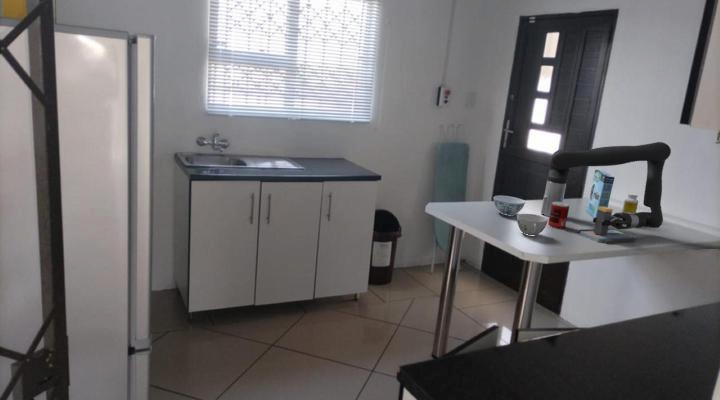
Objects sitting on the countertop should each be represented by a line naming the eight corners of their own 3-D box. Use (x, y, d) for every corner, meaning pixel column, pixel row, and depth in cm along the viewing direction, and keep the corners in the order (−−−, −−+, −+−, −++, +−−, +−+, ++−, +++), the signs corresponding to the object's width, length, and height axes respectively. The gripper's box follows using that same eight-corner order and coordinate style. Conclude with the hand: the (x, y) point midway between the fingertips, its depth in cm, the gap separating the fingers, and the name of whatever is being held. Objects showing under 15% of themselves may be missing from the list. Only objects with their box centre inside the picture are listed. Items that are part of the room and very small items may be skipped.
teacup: (512, 228, 231) (515, 211, 229) (541, 232, 230) (544, 215, 228) (517, 238, 217) (520, 220, 215) (548, 242, 215) (551, 224, 213)
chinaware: (485, 212, 256) (487, 197, 254) (502, 209, 266) (504, 194, 264) (511, 220, 246) (514, 204, 244) (528, 216, 256) (531, 201, 254)
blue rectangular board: (614, 232, 242) (614, 229, 241) (632, 239, 233) (633, 236, 232) (579, 234, 232) (580, 231, 232) (597, 241, 224) (598, 238, 223)
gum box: (585, 210, 282) (594, 169, 277) (595, 212, 282) (604, 170, 276) (594, 219, 264) (604, 175, 258) (605, 221, 263) (615, 177, 258)
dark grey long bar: (632, 241, 231) (633, 238, 230) (635, 242, 230) (635, 239, 229) (603, 242, 223) (604, 239, 223) (606, 243, 222) (606, 240, 222)
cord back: (606, 231, 243) (607, 228, 243) (608, 232, 242) (609, 229, 242) (578, 232, 236) (578, 229, 235) (580, 233, 234) (581, 230, 234)
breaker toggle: (599, 231, 233) (605, 206, 230) (607, 234, 229) (612, 209, 226) (592, 232, 231) (598, 206, 228) (600, 235, 228) (606, 209, 225)
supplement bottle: (636, 220, 273) (641, 196, 269) (622, 218, 274) (628, 194, 271) (632, 216, 279) (637, 193, 276) (619, 215, 280) (624, 192, 277)
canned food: (564, 225, 246) (569, 203, 243) (565, 229, 238) (570, 206, 236) (547, 222, 248) (552, 200, 245) (547, 226, 241) (552, 203, 238)
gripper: (613, 208, 240) (586, 209, 233) (640, 217, 228) (613, 218, 221) (610, 223, 242) (583, 225, 235) (637, 233, 230) (609, 234, 222)
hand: (598, 221), depth 228 cm, fingers closed on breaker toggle, 4 cm apart
